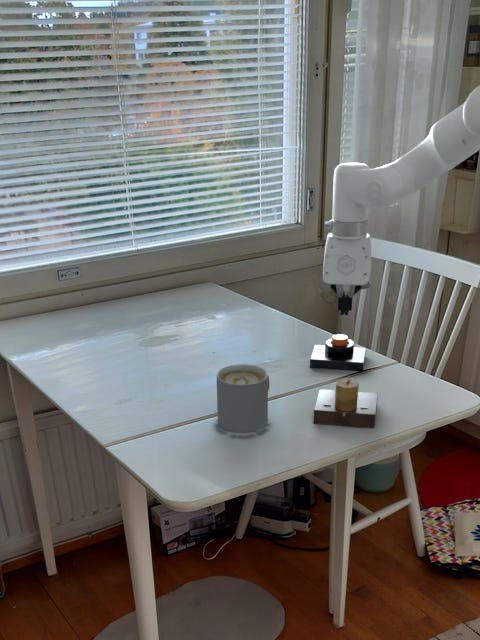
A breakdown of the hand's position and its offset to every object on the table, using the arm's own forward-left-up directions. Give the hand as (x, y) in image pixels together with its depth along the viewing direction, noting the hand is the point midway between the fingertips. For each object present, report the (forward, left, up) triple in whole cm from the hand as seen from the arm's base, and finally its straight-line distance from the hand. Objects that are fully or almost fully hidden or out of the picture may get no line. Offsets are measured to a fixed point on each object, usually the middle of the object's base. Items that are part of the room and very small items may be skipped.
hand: (344, 313), depth 175 cm
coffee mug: (+16, +34, -11) cm, 39 cm away
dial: (-3, +31, -8) cm, 32 cm away
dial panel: (-3, +29, -11) cm, 31 cm away
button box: (+1, +2, -11) cm, 11 cm away
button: (+1, 0, -8) cm, 8 cm away
